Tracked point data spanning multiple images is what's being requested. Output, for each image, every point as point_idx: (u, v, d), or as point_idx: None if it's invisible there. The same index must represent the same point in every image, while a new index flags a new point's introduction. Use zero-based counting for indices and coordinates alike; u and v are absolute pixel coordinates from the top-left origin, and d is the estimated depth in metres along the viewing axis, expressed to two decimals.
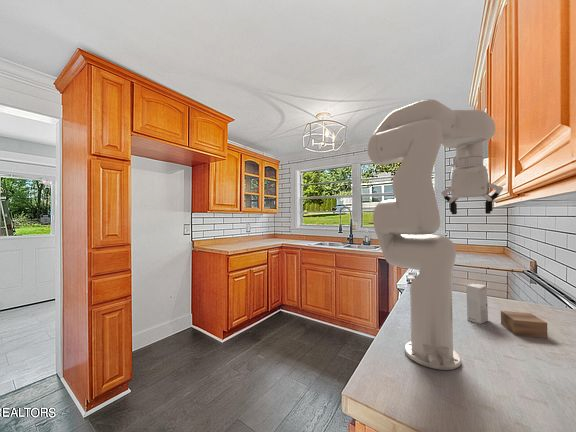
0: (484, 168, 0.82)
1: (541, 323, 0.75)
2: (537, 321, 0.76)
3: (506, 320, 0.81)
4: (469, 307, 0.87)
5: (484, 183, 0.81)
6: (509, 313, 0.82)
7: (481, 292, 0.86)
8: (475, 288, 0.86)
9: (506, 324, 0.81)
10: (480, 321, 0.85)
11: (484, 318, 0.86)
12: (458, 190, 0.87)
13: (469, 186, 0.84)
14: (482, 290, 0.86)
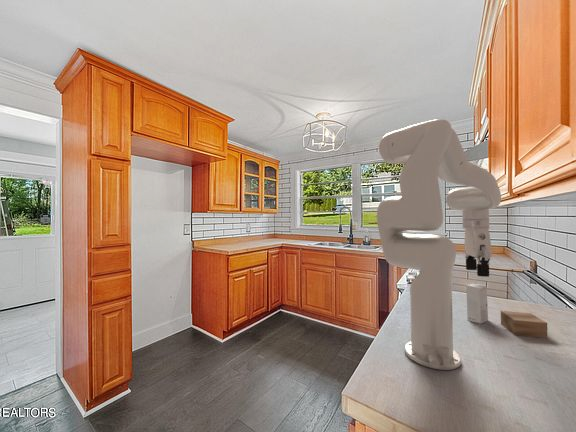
0: None
1: (541, 323, 0.75)
2: (537, 321, 0.76)
3: (506, 320, 0.81)
4: (469, 307, 0.87)
5: None
6: (509, 313, 0.82)
7: (481, 292, 0.86)
8: (475, 288, 0.86)
9: (506, 324, 0.81)
10: (480, 321, 0.85)
11: (484, 318, 0.86)
12: None
13: None
14: (482, 290, 0.86)
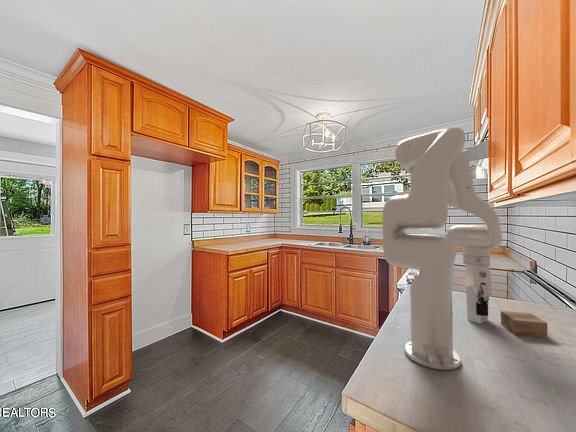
0: None
1: (541, 323, 0.75)
2: (537, 321, 0.76)
3: (506, 320, 0.81)
4: (469, 307, 0.87)
5: None
6: (509, 313, 0.82)
7: None
8: None
9: (506, 324, 0.81)
10: (480, 321, 0.85)
11: (484, 318, 0.86)
12: None
13: None
14: None
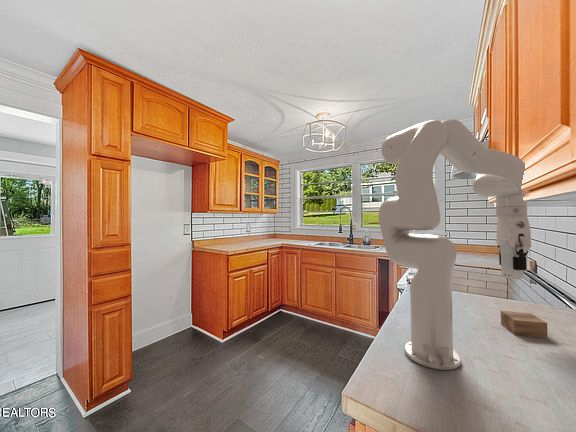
0: None
1: (541, 323, 0.75)
2: (537, 321, 0.76)
3: (506, 320, 0.81)
4: (504, 263, 0.80)
5: None
6: (509, 313, 0.82)
7: None
8: None
9: (506, 324, 0.81)
10: (517, 276, 0.78)
11: (521, 274, 0.79)
12: None
13: None
14: None
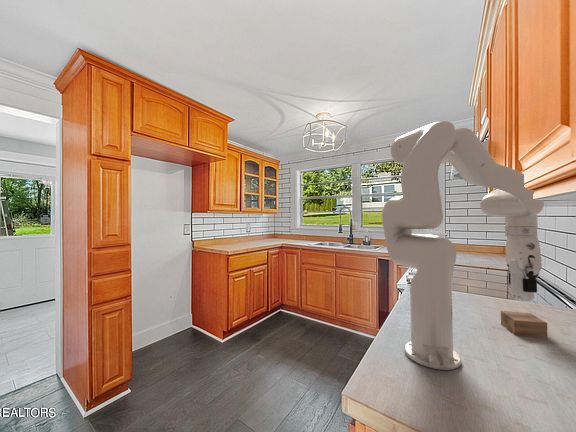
0: None
1: (541, 323, 0.75)
2: (537, 321, 0.76)
3: (506, 320, 0.81)
4: (513, 284, 0.79)
5: None
6: (509, 313, 0.82)
7: None
8: None
9: (506, 324, 0.81)
10: (527, 298, 0.76)
11: (531, 296, 0.77)
12: None
13: None
14: None
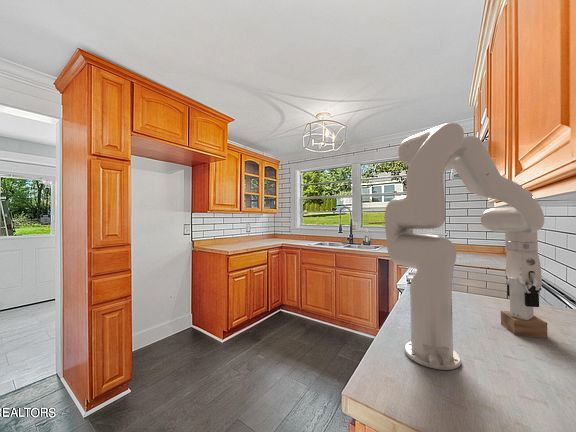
0: None
1: (541, 323, 0.75)
2: (537, 321, 0.76)
3: (506, 320, 0.81)
4: (513, 302, 0.79)
5: None
6: (509, 313, 0.82)
7: None
8: None
9: (506, 324, 0.81)
10: (526, 317, 0.76)
11: (530, 314, 0.77)
12: None
13: None
14: None
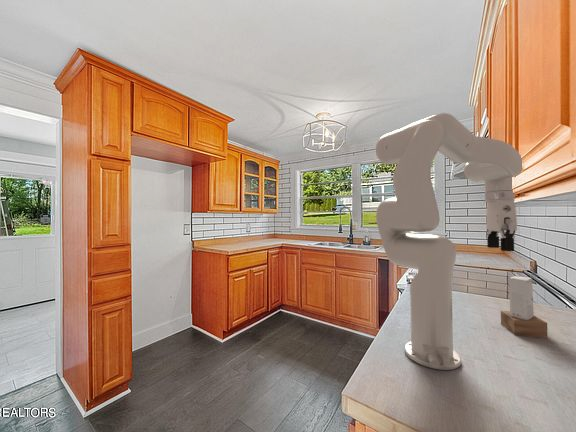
0: None
1: (541, 323, 0.75)
2: (537, 321, 0.76)
3: (506, 320, 0.81)
4: (513, 302, 0.79)
5: None
6: (509, 313, 0.82)
7: (527, 285, 0.77)
8: (520, 281, 0.78)
9: (506, 324, 0.81)
10: (526, 317, 0.76)
11: (530, 314, 0.77)
12: None
13: None
14: (528, 283, 0.78)
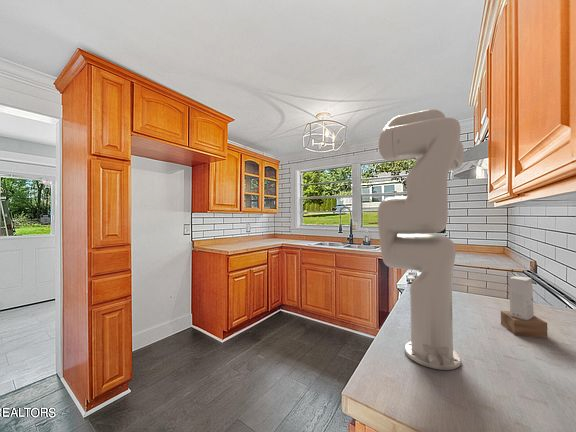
0: None
1: (541, 323, 0.75)
2: (537, 321, 0.76)
3: (506, 320, 0.81)
4: (513, 302, 0.79)
5: None
6: (509, 313, 0.82)
7: (527, 285, 0.77)
8: (520, 281, 0.78)
9: (506, 324, 0.81)
10: (526, 317, 0.76)
11: (530, 314, 0.77)
12: None
13: None
14: (528, 283, 0.78)
